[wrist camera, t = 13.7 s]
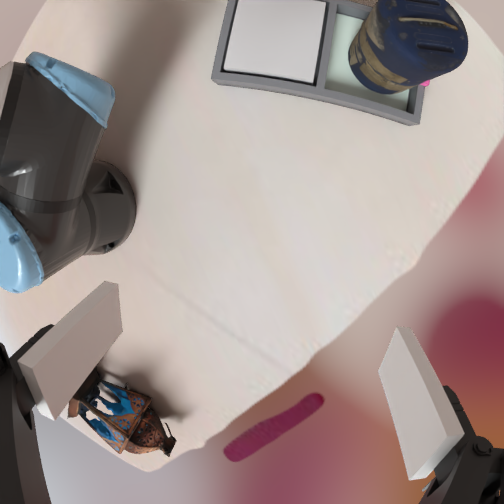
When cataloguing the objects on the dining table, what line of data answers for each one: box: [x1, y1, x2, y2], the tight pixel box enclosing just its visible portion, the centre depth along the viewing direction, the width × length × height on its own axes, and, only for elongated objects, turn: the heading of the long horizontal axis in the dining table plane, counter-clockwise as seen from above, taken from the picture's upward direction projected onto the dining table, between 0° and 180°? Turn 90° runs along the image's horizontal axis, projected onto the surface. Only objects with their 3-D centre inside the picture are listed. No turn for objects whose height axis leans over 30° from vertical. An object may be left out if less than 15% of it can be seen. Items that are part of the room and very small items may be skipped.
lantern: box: [67, 366, 177, 457], centre depth 55 cm, size 16×16×25 cm
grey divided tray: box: [211, 0, 430, 126], centre depth 32 cm, size 27×15×5 cm, turn 80°
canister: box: [348, 0, 468, 95], centre depth 25 cm, size 10×10×18 cm
